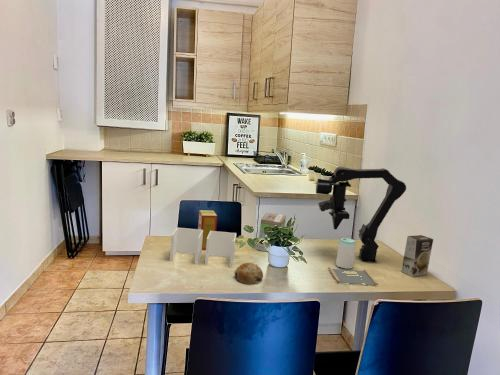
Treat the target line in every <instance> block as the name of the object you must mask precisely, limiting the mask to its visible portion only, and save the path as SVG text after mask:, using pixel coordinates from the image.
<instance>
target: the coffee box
mask: <svg viewBox="0 0 500 375" xmlns="http://www.w3.org/2000/svg"><path fill="white" fill-rule="evenodd" d="M406 237H407V238H406V243H405V248H404V254H403V258H402V259H403V260H402V266H401V269H400V270H401V273H404V274H405V275H408V276H410V277H412V278H414V277H421V276H427V275H428V270H429V264H430V260H431V255H432V254H431V253H432V248H433V243H434V238H432V237H428V236H425V235H423V234H420V235H419V234H418V235H407V236H406Z"/></svg>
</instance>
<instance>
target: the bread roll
mask: <svg viewBox="0 0 500 375" xmlns="http://www.w3.org/2000/svg"><path fill="white" fill-rule="evenodd" d="M233 273H234V275H235V278H236V280H237V281H238V282H239V283H242V284H246V285H258V284H259V283H260V282H261V281H262V280H263V277H264V273H263V270H262V269H261V267H259V265H258V264H256V263H253V262H245V263H242V264H240V265H239V266H238V267H236V269H235V270H234V272H233Z"/></svg>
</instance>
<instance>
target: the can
mask: <svg viewBox="0 0 500 375" xmlns="http://www.w3.org/2000/svg"><path fill="white" fill-rule="evenodd" d="M355 242H356V241H355V240H354V239H352V238H349V237H342V238H340V240H339V241H338V246H337V252H336V261H335V262H336V263H335V265H336V266H337V267H338V268H339V267H341V268H340V269H342V268H345V269H344V270H351V269H353V266H354V261H355V260H354V259H355V252H356V246H357V244H356V243H355Z"/></svg>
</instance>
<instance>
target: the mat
mask: <svg viewBox="0 0 500 375" xmlns="http://www.w3.org/2000/svg"><path fill="white" fill-rule="evenodd" d="M328 269H329V270H328ZM327 270H328V272H329V271H330V272H331V273H330V272H329V273H330V275H331V274H332V275H333V276H332V275H331V276H332V278H333V277H334V278H333V280H334V279H335V280H336V281H335V280H334V281H335V283H336V282H337V283H336V284H339V283H349V284H348V285H353V284H362V283H365V284H366V285H365V286H368V285H378V286H379V282H378V281H377V280H376V279H375V278H374V277H373V275H371V274H372V273H370V272H369V271H368V270H367V269H366V268H363V270H354V269H343V270H342V268H332V267H331V266H328V268H327ZM350 270H351V271H355V272H357V274H358V275H359V276H347V275H357V274H346V273H342V272H344V271H350ZM351 271H350V272H351ZM360 276H362V277H360ZM361 279H362V280H361Z"/></svg>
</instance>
